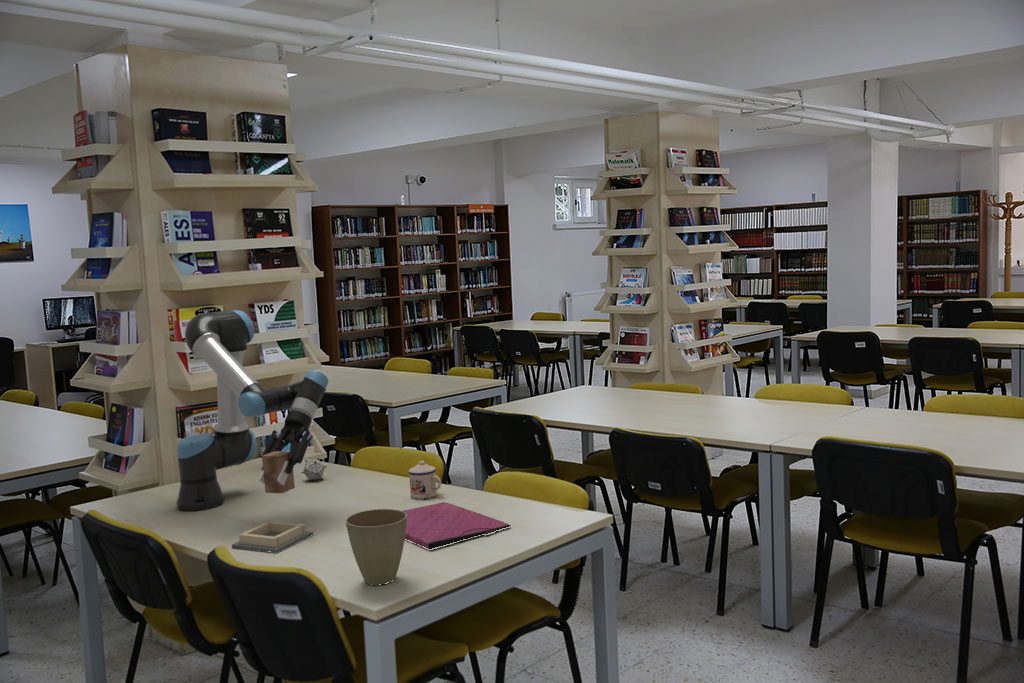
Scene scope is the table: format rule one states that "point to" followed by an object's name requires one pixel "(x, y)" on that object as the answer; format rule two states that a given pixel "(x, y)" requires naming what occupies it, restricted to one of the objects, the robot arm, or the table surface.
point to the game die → (314, 469)
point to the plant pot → (377, 543)
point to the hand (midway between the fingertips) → (271, 482)
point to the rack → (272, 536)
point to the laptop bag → (446, 524)
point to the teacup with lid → (423, 481)
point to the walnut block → (276, 472)
